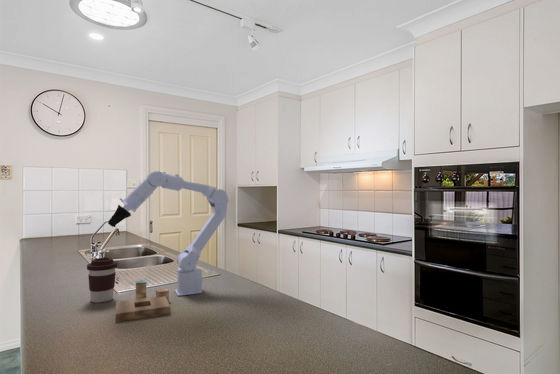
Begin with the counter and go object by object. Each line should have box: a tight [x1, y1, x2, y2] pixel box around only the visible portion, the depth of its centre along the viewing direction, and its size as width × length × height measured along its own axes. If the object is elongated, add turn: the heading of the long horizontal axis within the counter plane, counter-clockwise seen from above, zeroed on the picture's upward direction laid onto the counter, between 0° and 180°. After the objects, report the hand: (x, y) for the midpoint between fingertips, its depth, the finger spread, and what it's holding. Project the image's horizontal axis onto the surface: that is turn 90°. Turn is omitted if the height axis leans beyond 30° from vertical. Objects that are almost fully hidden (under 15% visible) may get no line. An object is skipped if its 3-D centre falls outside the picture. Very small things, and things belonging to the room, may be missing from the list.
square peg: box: [135, 279, 147, 299], centre depth 120 cm, size 4×4×7 cm
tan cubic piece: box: [155, 287, 170, 303], centre depth 120 cm, size 4×4×4 cm
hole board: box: [115, 296, 171, 323], centre depth 109 cm, size 16×12×2 cm
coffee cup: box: [86, 257, 118, 304], centre depth 121 cm, size 10×10×15 cm
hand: (110, 224), depth 118 cm, fingers open, 7 cm apart
